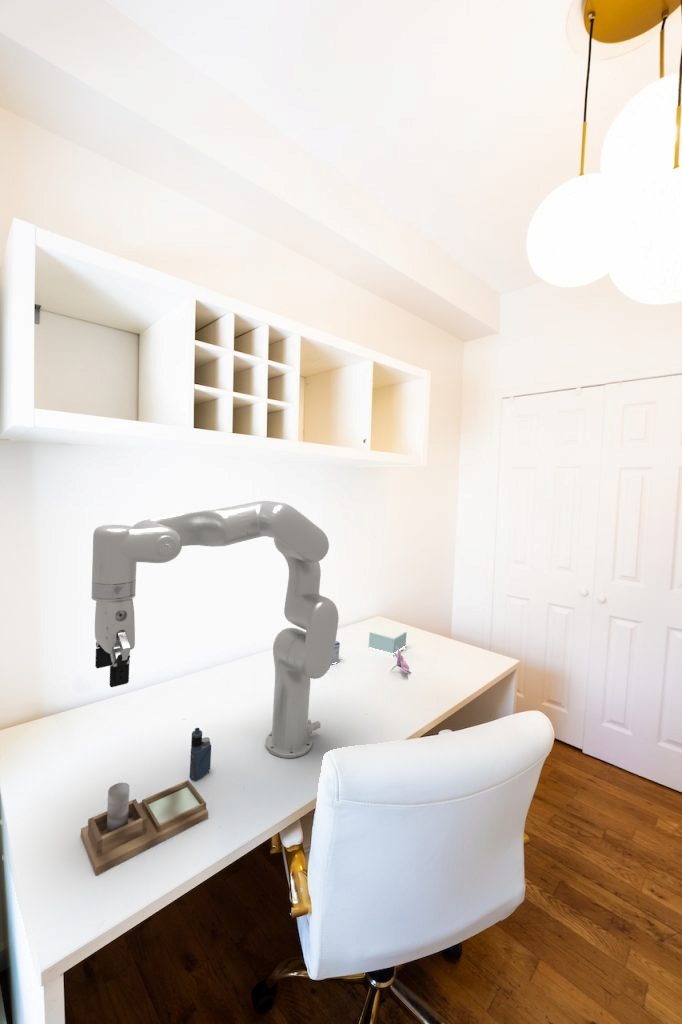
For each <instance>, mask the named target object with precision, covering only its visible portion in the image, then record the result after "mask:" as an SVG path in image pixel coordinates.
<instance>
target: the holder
mask: <svg viewBox="0 0 682 1024" xmlns="http://www.w3.org/2000/svg"><path fill="white" fill-rule="evenodd" d="M208 819H209V810H208V809H207V801H205V799H204V798H203V797H202V795H201V794H200V793H199V792H198V790H197V789H196V788H195V786H194V785H193V784H192V783H191V782H190V780H189V779H187V780H184V781H182V782H180V783H178V784H176V785H173V786H171V787H168V788H166V789H164V790H162V791H160V792H156V793H155V794H153V795H150V796H148V797H145V798H143V799H141V802H138V801H137V798H135V799H132V800H130V785H129V784H128V783H127V782H118V783H115V784H113V785H112V786H110V787H109V788H108V790H107V810H106V811H104V812H102V813H100V814H97V815H95V816H92V817H90V818H88V820H87V825H85V826H84V827H81V828H80V838H81V841H82V843H83V847H84V848H85V851H86V853H87V856H88V859H89V862H90V864H91V867H92V870H93V872H94V875H95V876H99V875H100V874H103V873H105V872H106V871H108V870H111V869H112V868H114V867H116V866H118V865H119V864H121V863H124V862H126V861H127V860H129V859H131V858H133V857H135V856H138V855H139V854H141V853H143V852H146V851H147V850H149V849H151V848H153V847H155V846H157V845H159V844H161V843H162V842H164V841H166V840H168V839H170V838H173V837H175V836H176V835H178V834H180V833H183V832H184V831H186V830H188V829H190V828H192V827H194V826H195V825H197V824H199V823H201V822H204V821H205V820H208Z"/></svg>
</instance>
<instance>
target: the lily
mask: <svg viewBox="0 0 682 1024" xmlns="http://www.w3.org/2000/svg"><path fill="white" fill-rule="evenodd" d="M396 647H397V646H396ZM397 650H398V654H396V653H394V654H395V656H394V657H395V658H396V659H397V660H396V664H395V665H394V666H393V667H392V668H391V670H392V671H393V670H394V669H395V668H396V667H399V668H401V670H402V671H404V673H405V674H406V673H408V672H410V671H409V668H410V667H409V665H408V664H407V660H405V658H404V657H403V655H402V654H401V652H400V651H399V649H398V647H397Z"/></svg>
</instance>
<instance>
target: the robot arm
mask: <svg viewBox="0 0 682 1024" xmlns="http://www.w3.org/2000/svg"><path fill="white" fill-rule="evenodd" d="M92 535H93V536H92V564H91V565H92V568H91V569H92V570H91V600H93V601H95V611H94V613H95V614H94V638H95V640H96V642H95V646H96V648H95V661H94V662H95V668H96V669H102V668H105V667H109V686H110V688H114V687H115V688H116V687H118V686H123V685H127V684H128V683H129V681H130V664H131V663H130V661H131V659H130V658H131V650H133V649H135V646H136V638H135V637H136V633H135V632H136V627H135V608H134V607H135V606H134V601H133V600H134V598H135V597H136V586H137V585H136V582H137V581H136V580H137V563H148V564H149V563H150V564H164V563H168V562H171V561H172V560H174V559H176V558H177V557H179V554H180V553H181V551H182V548H183V547H186V546H202V547H227V546H230V545H234V544H238V543H243V542H246V541H250V540H253V539H258V538H261V537H268V538H272V539H273V542H274V545H275V548H276V549H277V551H278V552H280V553H281V554H282V556H283V557H284V559H285V561H286V563H287V567H288V581H287V588H286V594H285V595H286V596H285V601H284V608H283V609H284V610H283V611H284V612H283V614H284V617H285V619H286V620H287V621H288V622H289V623H291V624H292V625H294V626H296V628H295V627H287V628H284V629H282V630H281V631H279V633H278V634H277V635H276V637H275V639H274V642H273V647H272V651H273V652H272V656H273V662H274V691H273V708H272V709H273V710H272V726H271V727H272V728H271V731H270V733H268V735H267V736H266V738H265V748H266V749H267V751H268V752H269V753H271V754H272V755H274V756H276V757H279V758H283V759H284V758H285V759H287V758H288V759H292V758H293V759H294V758H298V757H301V756H304V755H305V754H307V753H308V752H310V750H311V748H312V747H313V738H312V736H311V734H312V733H313V731H317V730H319V729H320V728H321V721H320V720H316V721H315V722H312V721H311V719H309V711H310V710H309V709H310V707H309V706H310V695H311V694H310V693H311V692H310V691H311V679H313V680H315V679H321V678H322V677H324V676H325V675H326V674H327V673H328V671H329V670H330V668H331V666H332V665H331V663H332V659H333V655H334V648H335V642H336V641H337V636H338V635H337V634H338V628H339V611H338V608H337V605H336V604H335V603H334V601H332V600H331V598H328V597H326V596H323V595H320V585H321V578H322V577H321V576H322V575H321V574H322V572H321V565H320V561H321V560H323V559H324V558H325V557H326V556H327V554H328V551H329V548H330V543H329V539H328V536H327V534H326V533H325V532H324V531H323V530H322V528H320V527H319V526H318V525H316V524H314V523H313V522H312V521H311V520H310V519H309V518H307V517H306V516H305V515H304V514H303V513H301V512H300V511H299V510H298V509H296V508H294V507H293V506H291V505H290V504H287V503H285V502H278V501H271V500H260V501H254V502H247V503H243V504H238V505H234V506H227V507H223V508H216V509H210V510H201V511H200V510H199V511H195V512H193V511H192V512H187V513H178V514H171V515H170V514H169V515H165V516H160V517H154V518H149V519H145V520H141V521H139V522H136V523H135V524H134V525H133V526H131V525H126V524H125V525H123V524H104V525H101V526H98V527H96V528H95V529H94V531H93V534H92ZM297 627H298V628H297ZM299 628H301V629H299ZM304 630H305V631H304ZM116 654H117V655H118V656H117V655H116Z"/></svg>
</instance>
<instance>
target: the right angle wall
mask: <svg viewBox="0 0 682 1024" xmlns="http://www.w3.org/2000/svg"><path fill="white" fill-rule="evenodd" d="M407 633H408V632H406V631H404V632H402V633H400V634H399V635H396V636H395V637H394V638H393V637H390V636H386V635H383V634H379V633H376V632H372V631H370V632H369V633H368V634H369V638H368V648H369V647H372V648H375V649H379V650H383V651H387V652H390V653H394V652H396V651H397V647H398V649H400V648H402V647H403V646H405V645H407ZM396 646H397V647H396Z"/></svg>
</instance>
